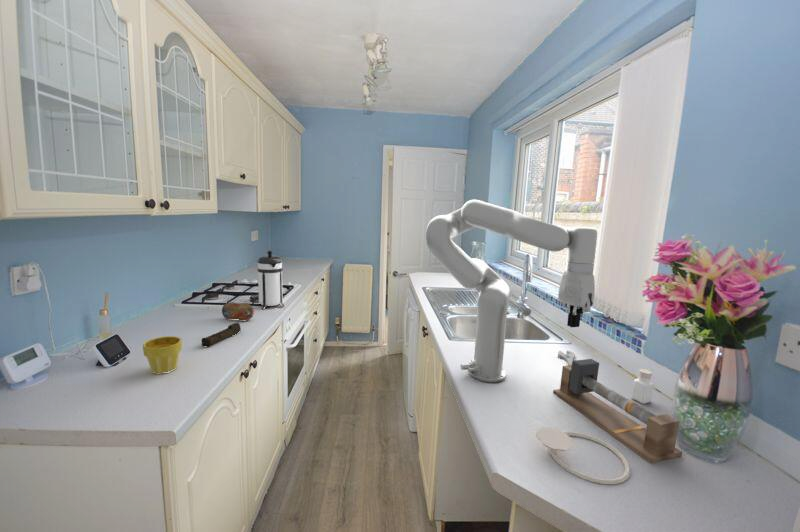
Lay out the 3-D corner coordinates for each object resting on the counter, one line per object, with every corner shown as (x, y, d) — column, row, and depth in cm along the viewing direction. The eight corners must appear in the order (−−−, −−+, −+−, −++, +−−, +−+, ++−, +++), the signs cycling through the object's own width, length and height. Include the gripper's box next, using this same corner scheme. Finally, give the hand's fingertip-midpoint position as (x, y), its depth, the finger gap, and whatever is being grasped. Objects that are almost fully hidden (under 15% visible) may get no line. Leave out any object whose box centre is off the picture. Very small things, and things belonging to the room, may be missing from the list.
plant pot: (178, 375, 114) (176, 346, 112) (139, 379, 111) (137, 349, 109) (186, 361, 123) (185, 334, 122) (152, 364, 120) (149, 337, 119)
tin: (221, 319, 168) (221, 302, 167) (226, 317, 172) (225, 300, 170) (251, 322, 166) (250, 304, 165) (255, 320, 169) (254, 303, 168)
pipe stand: (650, 463, 82) (656, 427, 80) (553, 392, 112) (556, 365, 111) (681, 455, 85) (688, 421, 83) (578, 389, 115) (582, 362, 114)
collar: (576, 394, 105) (580, 365, 103) (568, 388, 108) (572, 360, 106) (595, 391, 107) (599, 363, 105) (587, 386, 110) (591, 358, 108)
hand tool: (209, 348, 136) (208, 337, 135) (201, 346, 137) (200, 335, 136) (245, 332, 153) (245, 322, 152) (238, 331, 155) (237, 321, 154)
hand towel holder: (650, 472, 73) (546, 461, 75) (646, 491, 74) (544, 480, 76) (610, 423, 90) (526, 415, 92) (608, 438, 91) (525, 430, 93)
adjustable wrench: (584, 384, 119) (585, 379, 119) (563, 381, 121) (564, 376, 121) (573, 355, 143) (574, 351, 143) (556, 353, 145) (556, 348, 145)
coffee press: (292, 303, 199) (291, 250, 194) (274, 311, 184) (273, 253, 179) (265, 300, 204) (264, 247, 199) (246, 307, 189) (244, 251, 184)
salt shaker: (629, 398, 111) (634, 369, 109) (638, 395, 112) (643, 367, 111) (643, 404, 107) (647, 375, 106) (651, 402, 109) (656, 373, 107)
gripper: (551, 264, 114) (546, 319, 117) (589, 272, 100) (582, 335, 103) (571, 263, 116) (565, 318, 119) (610, 272, 102) (602, 333, 105)
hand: (573, 326), depth 111 cm, fingers closed
